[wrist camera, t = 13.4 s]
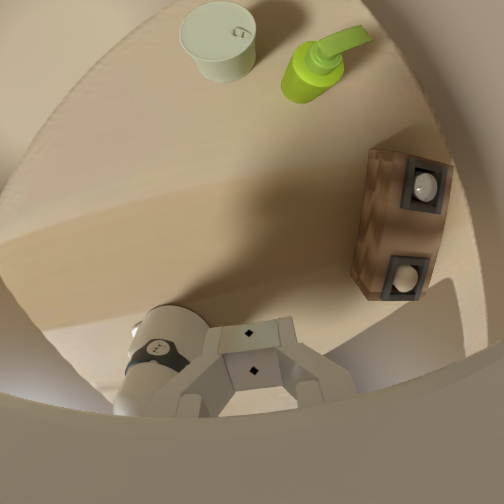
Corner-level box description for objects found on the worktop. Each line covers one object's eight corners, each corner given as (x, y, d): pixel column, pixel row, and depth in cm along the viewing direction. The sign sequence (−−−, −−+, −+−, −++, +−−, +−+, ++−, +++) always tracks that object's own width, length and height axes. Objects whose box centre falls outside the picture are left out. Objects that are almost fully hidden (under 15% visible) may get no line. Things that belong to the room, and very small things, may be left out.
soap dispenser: (331, 90, 38) (386, 56, 19) (294, 110, 39) (327, 82, 20) (311, 60, 36) (350, 7, 17) (273, 79, 37) (289, 29, 19)
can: (245, 89, 38) (242, 68, 27) (188, 75, 37) (166, 53, 26) (263, 40, 35) (267, 7, 24) (207, 27, 34) (193, -6, 23)
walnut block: (401, 276, 49) (426, 302, 39) (350, 275, 49) (369, 303, 39) (423, 160, 41) (457, 167, 32) (369, 149, 41) (397, 151, 31)
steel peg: (408, 193, 41) (434, 203, 34) (388, 189, 41) (413, 199, 34) (411, 169, 40) (438, 176, 32) (391, 165, 40) (417, 170, 32)
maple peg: (393, 271, 46) (413, 292, 39) (374, 270, 46) (393, 292, 39) (398, 249, 45) (420, 268, 37) (378, 248, 45) (399, 267, 37)
